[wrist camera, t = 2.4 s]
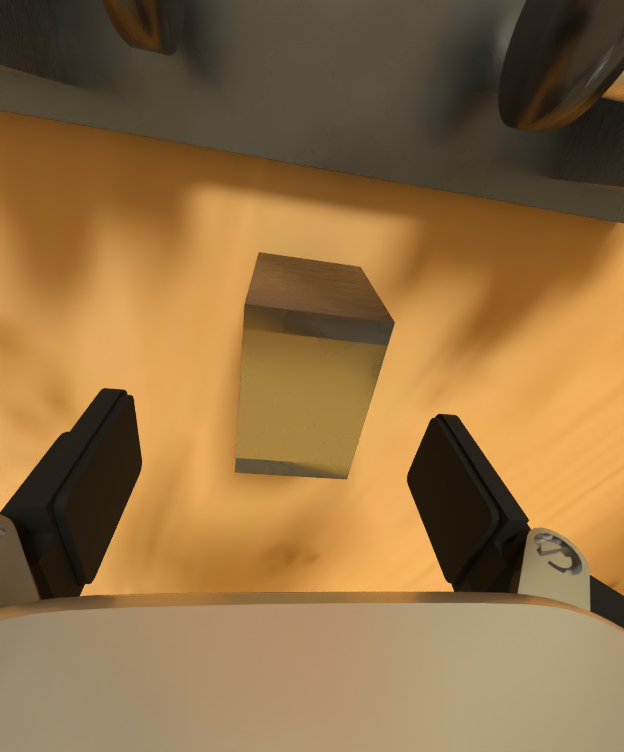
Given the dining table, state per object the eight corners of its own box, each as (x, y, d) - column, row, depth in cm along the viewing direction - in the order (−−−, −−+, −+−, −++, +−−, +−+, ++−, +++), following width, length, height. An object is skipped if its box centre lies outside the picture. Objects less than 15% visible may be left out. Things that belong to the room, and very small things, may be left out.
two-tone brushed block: (259, 252, 15) (244, 303, 10) (360, 266, 16) (394, 322, 11) (249, 385, 19) (234, 472, 14) (331, 393, 19) (346, 479, 14)
